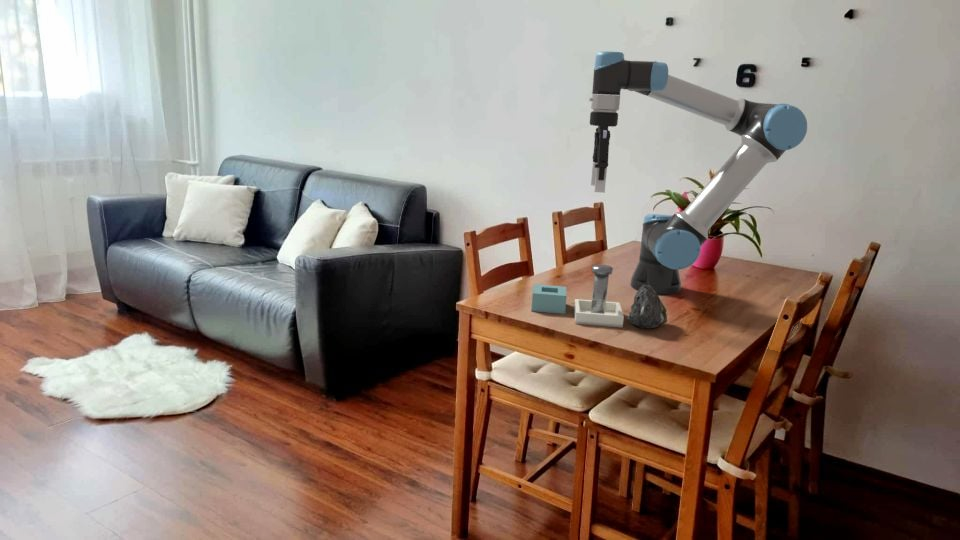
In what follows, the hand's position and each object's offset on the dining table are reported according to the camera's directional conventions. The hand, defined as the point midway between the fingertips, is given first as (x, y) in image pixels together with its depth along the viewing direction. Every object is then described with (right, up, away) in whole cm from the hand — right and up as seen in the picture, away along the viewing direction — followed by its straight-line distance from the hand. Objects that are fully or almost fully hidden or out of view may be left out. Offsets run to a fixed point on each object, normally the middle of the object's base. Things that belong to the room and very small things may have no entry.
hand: (597, 188), depth 189 cm
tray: (-2, -36, -11) cm, 37 cm away
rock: (+11, -38, -15) cm, 42 cm away
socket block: (-14, -33, -4) cm, 36 cm away
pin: (-2, -35, -11) cm, 37 cm away
